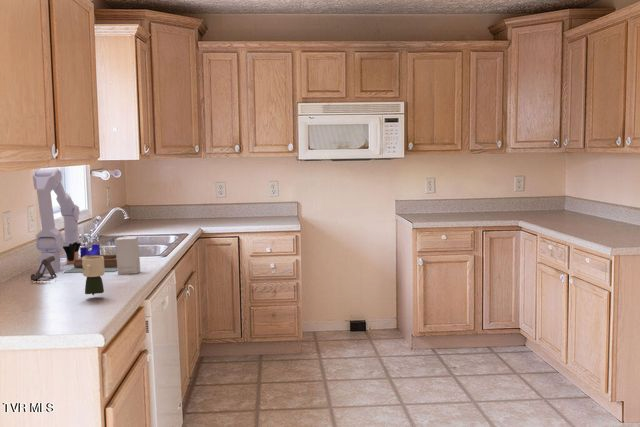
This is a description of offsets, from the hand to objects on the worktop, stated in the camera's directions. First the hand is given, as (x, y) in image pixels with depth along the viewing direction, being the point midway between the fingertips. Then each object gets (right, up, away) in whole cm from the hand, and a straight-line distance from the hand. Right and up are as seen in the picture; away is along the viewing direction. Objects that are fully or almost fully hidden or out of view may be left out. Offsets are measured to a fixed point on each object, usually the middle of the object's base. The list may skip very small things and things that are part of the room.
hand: (72, 259), depth 281 cm
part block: (0, -1, 0) cm, 1 cm away
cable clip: (+2, -1, +14) cm, 14 cm away
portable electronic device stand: (+4, -5, -37) cm, 37 cm away
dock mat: (+17, -3, -17) cm, 24 cm away
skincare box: (+34, -4, -27) cm, 44 cm away
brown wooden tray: (+16, -2, -9) cm, 19 cm away
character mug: (+35, -7, -68) cm, 77 cm away
